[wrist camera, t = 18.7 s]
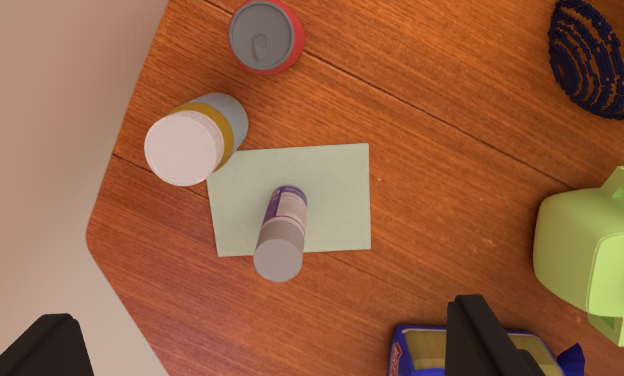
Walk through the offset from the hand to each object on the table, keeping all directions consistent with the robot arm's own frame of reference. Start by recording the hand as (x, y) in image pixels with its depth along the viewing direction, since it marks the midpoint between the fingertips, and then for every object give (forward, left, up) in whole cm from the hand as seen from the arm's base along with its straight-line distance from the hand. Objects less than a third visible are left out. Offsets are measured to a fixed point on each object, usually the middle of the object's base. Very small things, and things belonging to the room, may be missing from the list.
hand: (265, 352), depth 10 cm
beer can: (-3, +8, -40) cm, 41 cm away
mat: (-3, -11, -40) cm, 42 cm away
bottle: (-10, 0, -40) cm, 42 cm away
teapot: (+36, -17, -40) cm, 57 cm away
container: (-3, -11, -40) cm, 42 cm away
